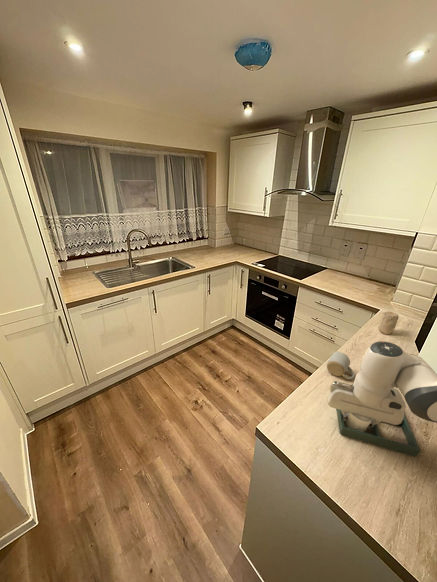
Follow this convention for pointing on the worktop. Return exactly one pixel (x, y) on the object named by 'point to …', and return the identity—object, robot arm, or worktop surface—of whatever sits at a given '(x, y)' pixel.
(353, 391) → the robot arm
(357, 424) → the shot glass
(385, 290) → the worktop surface
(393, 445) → the rack
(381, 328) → the carving
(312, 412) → the worktop surface
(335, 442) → the worktop surface
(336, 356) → the ceramic mug
